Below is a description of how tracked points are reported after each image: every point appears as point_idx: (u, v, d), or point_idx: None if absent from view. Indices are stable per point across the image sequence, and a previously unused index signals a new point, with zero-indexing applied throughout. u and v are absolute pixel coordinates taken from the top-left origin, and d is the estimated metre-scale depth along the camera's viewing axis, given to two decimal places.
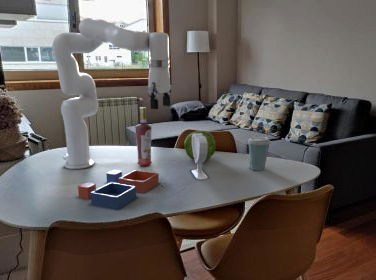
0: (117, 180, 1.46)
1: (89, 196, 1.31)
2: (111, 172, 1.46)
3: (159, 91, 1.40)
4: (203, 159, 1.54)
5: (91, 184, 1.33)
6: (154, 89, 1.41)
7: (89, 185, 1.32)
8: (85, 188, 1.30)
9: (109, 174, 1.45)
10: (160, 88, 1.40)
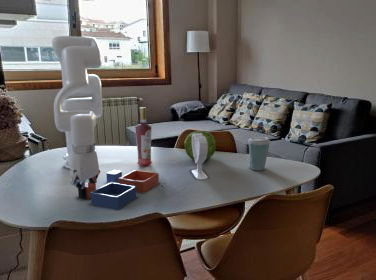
0: (117, 180, 1.46)
1: (89, 196, 1.31)
2: (111, 172, 1.46)
3: (82, 179, 1.27)
4: (203, 159, 1.54)
5: (91, 184, 1.33)
6: None
7: (89, 185, 1.32)
8: None
9: (109, 174, 1.45)
10: (83, 175, 1.27)
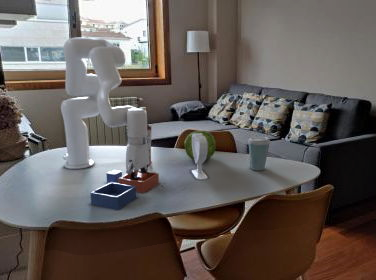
0: (117, 180, 1.46)
1: None
2: (111, 172, 1.46)
3: (136, 168, 1.38)
4: (203, 159, 1.54)
5: (143, 174, 1.43)
6: None
7: (142, 175, 1.42)
8: (139, 177, 1.40)
9: (109, 174, 1.45)
10: (138, 165, 1.38)
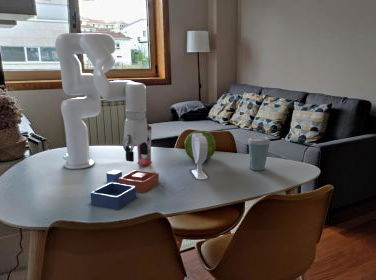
0: (117, 180, 1.46)
1: None
2: (111, 172, 1.46)
3: (135, 143, 1.35)
4: (203, 159, 1.54)
5: (143, 174, 1.43)
6: (130, 141, 1.37)
7: (142, 175, 1.42)
8: (139, 177, 1.40)
9: (109, 174, 1.45)
10: (136, 140, 1.36)
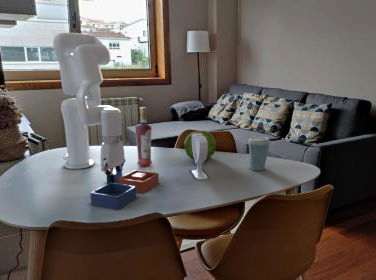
0: (117, 180, 1.46)
1: None
2: None
3: (111, 166, 1.42)
4: (203, 159, 1.54)
5: (143, 174, 1.43)
6: None
7: (142, 175, 1.42)
8: (139, 177, 1.40)
9: None
10: (112, 163, 1.42)
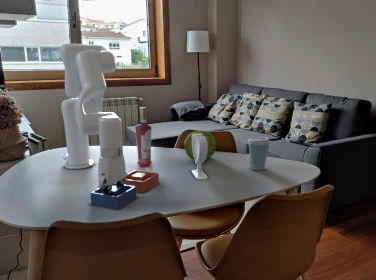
0: None
1: None
2: None
3: (110, 183, 1.23)
4: (203, 159, 1.54)
5: (143, 174, 1.43)
6: None
7: (142, 175, 1.42)
8: (139, 177, 1.40)
9: None
10: (111, 179, 1.23)
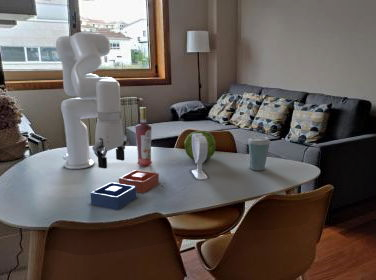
0: None
1: None
2: (110, 189, 1.28)
3: (108, 148, 1.20)
4: (203, 159, 1.54)
5: (143, 174, 1.43)
6: (102, 145, 1.22)
7: (142, 175, 1.42)
8: (139, 177, 1.40)
9: (108, 191, 1.26)
10: (109, 144, 1.20)
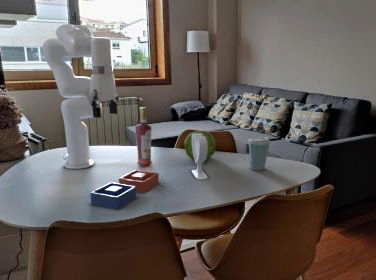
0: None
1: None
2: (110, 189, 1.28)
3: (101, 99, 1.34)
4: (203, 159, 1.54)
5: (143, 174, 1.43)
6: (97, 96, 1.35)
7: (142, 175, 1.42)
8: (139, 177, 1.40)
9: (108, 191, 1.26)
10: (102, 96, 1.34)
